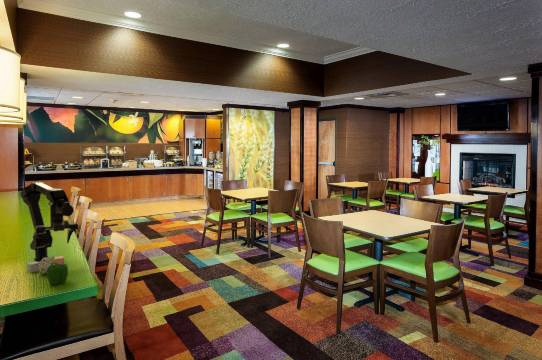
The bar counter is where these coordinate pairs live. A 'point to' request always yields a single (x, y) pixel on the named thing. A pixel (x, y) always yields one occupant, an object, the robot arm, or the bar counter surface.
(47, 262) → the game die
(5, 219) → the bar counter surface
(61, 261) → the terracotta block
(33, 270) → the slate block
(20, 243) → the bar counter surface
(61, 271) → the bell pepper
